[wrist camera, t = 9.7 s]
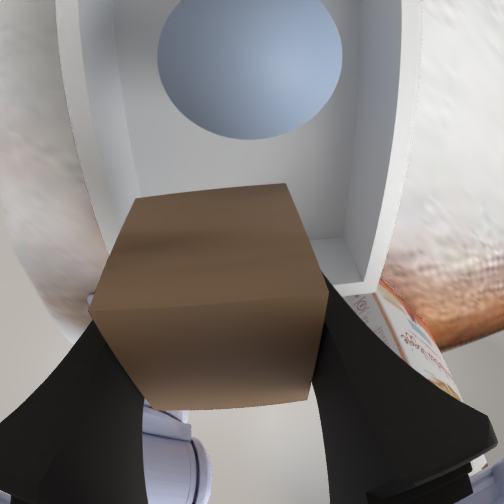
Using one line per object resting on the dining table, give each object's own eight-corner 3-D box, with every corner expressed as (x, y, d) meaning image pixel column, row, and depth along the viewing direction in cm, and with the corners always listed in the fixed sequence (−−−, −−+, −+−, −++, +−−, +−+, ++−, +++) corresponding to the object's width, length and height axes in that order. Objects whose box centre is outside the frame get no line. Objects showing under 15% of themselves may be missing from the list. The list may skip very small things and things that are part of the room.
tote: (349, 241, 21) (375, 292, 17) (146, 257, 20) (132, 312, 16) (369, -31, 10) (418, -47, 6) (99, -20, 9) (55, -37, 5)
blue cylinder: (296, 94, 14) (345, 131, 8) (196, 107, 14) (176, 153, 8) (285, 1, 11) (333, -29, 5) (179, 15, 11) (143, -9, 5)
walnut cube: (283, 292, 13) (307, 399, 9) (166, 302, 13) (154, 410, 9) (285, 183, 10) (329, 292, 6) (135, 198, 10) (88, 310, 6)
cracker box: (426, 317, 28) (499, 495, 12) (381, 349, 31) (437, 524, 14) (360, 250, 22) (474, 545, 5) (300, 298, 24) (361, 576, 8)
